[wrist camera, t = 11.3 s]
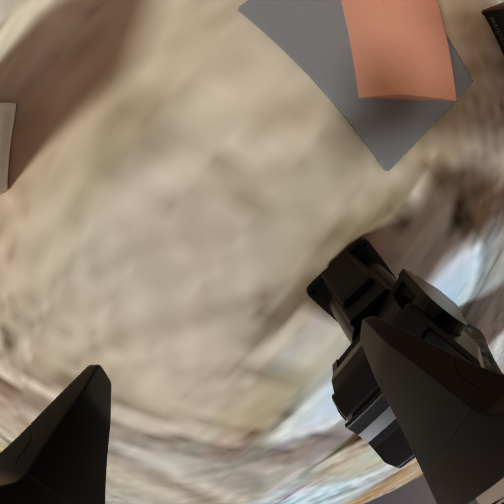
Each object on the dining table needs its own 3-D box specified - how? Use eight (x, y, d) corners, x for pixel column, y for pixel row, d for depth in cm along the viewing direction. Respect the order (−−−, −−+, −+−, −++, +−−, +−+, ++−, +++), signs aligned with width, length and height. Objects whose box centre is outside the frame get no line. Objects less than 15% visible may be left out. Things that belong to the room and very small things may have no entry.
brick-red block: (456, 100, 13) (427, -28, 9) (398, 93, 13) (365, -48, 9) (412, 100, 18) (391, -10, 14) (358, 98, 18) (335, -20, 13)
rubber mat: (468, 81, 18) (473, 81, 17) (384, 169, 21) (388, 171, 20) (359, -57, 12) (362, -60, 11) (238, 10, 15) (239, 7, 14)
